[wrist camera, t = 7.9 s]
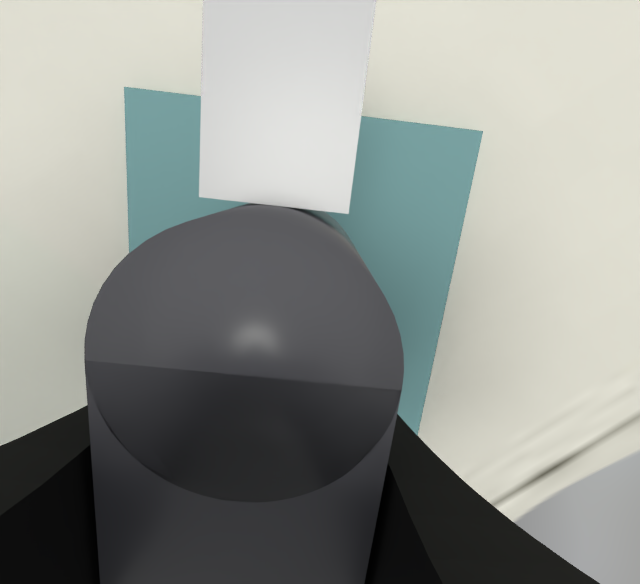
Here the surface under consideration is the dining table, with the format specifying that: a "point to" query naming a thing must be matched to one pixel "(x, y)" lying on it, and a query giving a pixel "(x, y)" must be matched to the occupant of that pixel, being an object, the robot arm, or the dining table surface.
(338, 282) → the cylinder
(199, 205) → the charging mat
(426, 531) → the robot arm
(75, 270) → the dining table surface
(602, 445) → the dining table surface
